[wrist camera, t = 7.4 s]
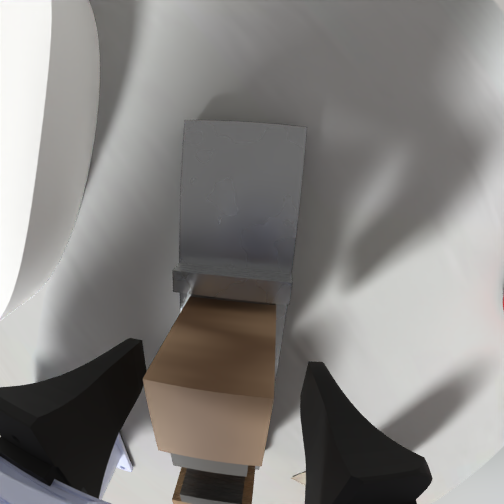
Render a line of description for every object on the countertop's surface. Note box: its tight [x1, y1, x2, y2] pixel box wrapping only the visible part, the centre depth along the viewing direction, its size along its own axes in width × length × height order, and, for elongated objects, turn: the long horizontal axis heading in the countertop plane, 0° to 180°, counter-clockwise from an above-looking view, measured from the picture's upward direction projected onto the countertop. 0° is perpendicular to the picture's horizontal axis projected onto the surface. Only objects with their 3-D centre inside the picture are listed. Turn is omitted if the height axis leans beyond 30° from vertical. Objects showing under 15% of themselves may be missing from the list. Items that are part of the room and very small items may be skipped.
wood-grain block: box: [143, 296, 276, 477], centre depth 12 cm, size 4×5×6 cm
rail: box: [172, 120, 307, 504], centre depth 13 cm, size 5×22×8 cm, turn 176°
